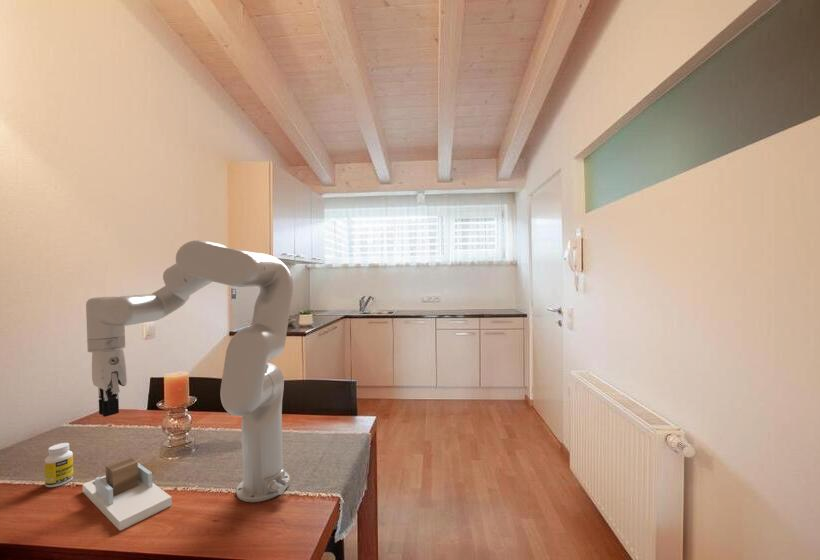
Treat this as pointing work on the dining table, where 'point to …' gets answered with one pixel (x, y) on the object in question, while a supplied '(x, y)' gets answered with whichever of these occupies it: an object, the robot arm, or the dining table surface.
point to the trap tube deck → (128, 499)
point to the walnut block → (122, 475)
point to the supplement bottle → (58, 465)
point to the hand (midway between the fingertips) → (109, 413)
